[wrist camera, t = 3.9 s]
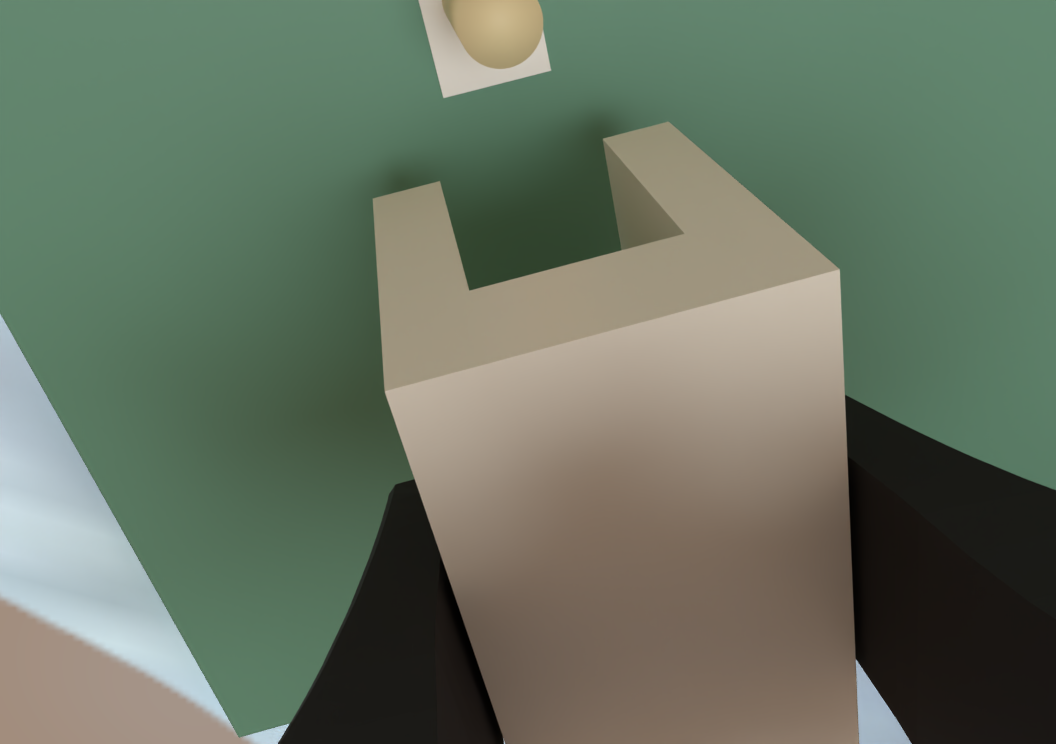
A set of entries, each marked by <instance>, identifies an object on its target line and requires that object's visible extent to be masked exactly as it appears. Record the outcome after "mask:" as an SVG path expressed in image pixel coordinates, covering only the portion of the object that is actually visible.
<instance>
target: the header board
mask: <svg viewBox="0 0 1056 744" xmlns="http://www.w3.org/2000/svg"><path fill="white" fill-rule="evenodd" d="M665 122H670V123H671V124H672V125H673V126H674V127H675V128H677V129H678V130H679V131H680V132H681V133H682V134H683V135H685V136H686V137H687V138H688V139H689V140H690V141H692V142H693V143H694V144H695V145H696V146H697V147H699V148H700V149H701V150H702V151H703V152H704V153H706V154H707V155H708V156H709V157H710V158H711V159H712V160H714V161H715V162H716V163H717V164H718V165H719V166H721V167H722V168H723V169H724V170H725V171H726V172H728V173H729V174H730V175H731V176H732V177H733V178H734V179H736V180H737V181H738V182H739V183H740V184H741V185H743V186H744V187H745V188H746V189H747V190H748V191H750V192H751V193H752V194H753V195H754V196H755V197H757V198H758V199H759V200H760V201H761V202H762V203H763V204H765V205H766V206H767V207H768V208H769V209H770V210H772V211H773V212H774V213H775V214H776V215H777V216H779V217H780V218H781V219H782V220H783V221H784V222H785V223H787V224H788V225H789V226H790V227H791V228H792V229H794V230H795V231H796V232H797V233H798V234H799V235H801V236H802V237H803V238H804V239H805V240H806V241H808V242H809V243H810V244H811V245H812V246H813V247H814V248H816V249H817V250H818V251H819V252H820V253H821V254H823V255H824V256H825V257H826V258H827V259H828V260H830V261H831V262H832V263H833V264H834V265H835V266H836V267H838V268H839V269H840V288H841V313H842V337H843V362H844V387H845V395H847V396H849V397H851V398H853V399H854V400H856V401H858V402H860V403H862V404H864V405H866V406H868V407H870V408H872V409H874V410H876V411H878V412H880V413H882V414H884V415H886V416H887V417H889V418H891V419H893V420H895V421H897V422H899V423H901V424H903V425H905V426H908V427H910V428H912V429H914V430H916V431H918V432H920V433H922V434H924V435H926V436H928V437H930V438H932V439H935V440H937V441H939V442H941V443H943V444H945V445H947V446H950V447H952V448H954V449H956V450H958V451H961V452H963V453H965V454H967V455H970V456H972V457H974V458H977V459H979V460H981V461H984V462H986V463H989V464H991V465H993V466H996V467H998V468H1001V469H1003V470H1005V471H1008V472H1010V473H1013V474H1015V475H1017V476H1020V477H1022V478H1025V479H1027V480H1030V481H1033V482H1035V483H1038V484H1041V485H1043V486H1046V487H1049V488H1051V489H1054V490H1056V0H0V314H1V315H2V317H3V319H4V321H5V323H6V324H7V326H8V328H9V330H10V331H11V333H12V335H13V337H14V339H15V340H16V342H17V344H18V346H19V347H20V349H21V351H22V353H23V355H24V356H25V358H26V360H27V362H28V363H29V365H30V367H31V369H32V371H33V372H34V374H35V376H36V378H37V379H38V381H39V383H40V385H41V387H42V388H43V390H44V392H45V394H46V395H47V397H48V399H49V401H50V403H51V404H52V406H53V408H54V410H55V411H56V413H57V415H58V417H59V419H60V420H61V422H62V424H63V426H64V427H65V429H66V431H67V433H68V434H69V436H70V438H71V440H72V442H73V443H74V445H75V447H76V449H77V450H78V452H79V454H80V456H81V458H82V459H83V461H84V463H85V465H86V466H87V468H88V470H89V472H90V474H91V475H92V477H93V479H94V481H95V482H96V484H97V486H98V488H99V490H100V491H101V493H102V495H103V497H104V498H105V500H106V502H107V504H108V506H109V507H110V509H111V511H112V513H113V514H114V516H115V518H116V520H117V522H118V523H119V525H120V527H121V529H122V530H123V532H124V534H125V536H126V538H127V539H128V541H129V543H130V545H131V546H132V548H133V550H134V552H135V554H136V555H137V557H138V559H139V561H140V562H141V564H142V566H143V568H144V570H145V571H146V573H147V575H148V577H149V578H150V580H151V582H152V584H153V586H154V587H155V589H156V591H157V593H158V594H159V596H160V598H161V600H162V602H163V603H164V605H165V607H166V609H167V610H168V612H169V614H170V616H171V618H172V619H173V621H174V623H175V625H176V626H177V628H178V630H179V632H180V634H181V635H182V637H183V639H184V641H185V642H186V644H187V646H188V648H189V650H190V651H191V653H192V655H193V657H194V658H195V660H196V662H197V664H198V666H199V667H200V669H201V671H202V673H203V674H204V676H205V678H206V680H207V682H208V683H209V685H210V687H211V689H212V690H213V692H214V694H215V696H216V698H217V699H218V701H219V703H220V705H221V706H222V708H223V710H224V712H225V714H226V715H227V717H228V719H229V721H230V722H231V724H232V726H233V728H234V729H235V731H236V733H237V735H238V737H242V736H246V735H250V734H253V733H257V732H260V731H264V730H267V729H271V728H275V727H278V726H282V725H285V724H289V723H291V721H292V719H293V718H294V716H295V714H296V713H297V711H298V709H299V707H300V706H301V704H302V702H303V700H304V698H305V697H306V695H307V693H308V691H309V689H310V687H311V686H312V684H313V682H314V680H315V678H316V676H317V674H318V672H319V671H320V669H321V667H322V665H323V662H324V660H325V658H326V656H327V654H328V652H329V650H330V648H331V646H332V644H333V641H334V639H335V637H336V635H337V633H338V631H339V629H340V627H341V625H342V623H343V620H344V618H345V616H346V614H347V612H348V609H349V607H350V605H351V602H352V600H353V597H354V595H355V592H356V590H357V587H358V585H359V582H360V580H361V577H362V575H363V572H364V570H365V567H366V565H367V562H368V559H369V556H370V554H371V551H372V548H373V545H374V542H375V539H376V537H377V533H378V530H379V527H380V524H381V521H382V518H383V514H384V511H385V508H386V504H387V500H388V496H389V493H390V492H391V490H392V489H393V487H394V486H395V484H398V483H402V482H406V481H409V480H413V479H414V476H413V473H412V470H411V467H410V464H409V461H408V458H407V455H406V452H405V449H404V446H403V444H402V441H401V438H400V435H399V432H398V429H397V426H396V423H395V420H394V417H393V414H392V411H391V409H390V406H389V403H388V400H387V397H386V394H385V390H384V374H383V358H382V341H381V325H380V309H379V293H378V277H377V261H376V245H375V228H374V212H373V198H377V197H380V196H384V195H388V194H392V193H396V192H400V191H404V190H407V189H411V188H415V187H419V186H423V185H427V184H430V183H434V182H438V181H440V183H441V187H442V191H443V195H444V198H445V202H446V206H447V209H448V213H449V217H450V221H451V224H452V228H453V232H454V235H455V239H456V243H457V247H458V250H459V254H460V258H461V261H462V265H463V269H464V273H465V276H466V280H467V284H468V287H469V291H470V290H474V289H478V288H481V287H485V286H489V285H493V284H497V283H500V282H504V281H508V280H512V279H515V278H519V277H523V276H527V275H530V274H534V273H538V272H542V271H546V270H549V269H553V268H557V267H561V266H564V265H568V264H572V263H576V262H580V261H583V260H587V259H591V258H595V257H598V256H602V255H606V254H610V253H614V252H617V251H621V250H622V249H621V243H620V238H619V232H618V226H617V220H616V214H615V208H614V203H613V197H612V191H611V185H610V179H609V173H608V168H607V162H606V156H605V150H604V144H603V138H607V137H611V136H615V135H619V134H623V133H626V132H630V131H634V130H638V129H642V128H646V127H650V126H653V125H657V124H661V123H665Z"/></svg>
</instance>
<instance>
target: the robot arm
mask: <svg viewBox="0 0 1056 744" xmlns="http://www.w3.org/2000/svg"><path fill="white" fill-rule="evenodd" d="M845 411H846V436H847V461H848V485H849V510H850V534H851V559H852V584H853V608H854V633H855V658H856V660H857V661H858V662H859V664H860V665H861V667H862V668H863V670H864V671H865V673H866V674H867V676H868V677H869V679H870V680H871V682H872V683H873V685H874V686H875V688H876V689H877V691H878V692H879V694H880V695H881V697H882V698H883V699H884V701H885V702H886V704H887V705H888V707H889V708H890V710H891V711H892V713H893V714H894V716H895V717H896V719H897V720H898V722H899V724H900V725H901V727H902V728H903V730H904V732H905V733H906V735H907V737H908V738H909V740H910V741H911V743H912V744H1056V490H1054V489H1051V488H1049V487H1046V486H1043V485H1041V484H1038V483H1035V482H1033V481H1030V480H1027V479H1025V478H1022V477H1020V476H1017V475H1015V474H1013V473H1010V472H1008V471H1005V470H1003V469H1001V468H998V467H996V466H993V465H991V464H989V463H986V462H984V461H981V460H979V459H977V458H974V457H972V456H970V455H967V454H965V453H963V452H961V451H958V450H956V449H954V448H952V447H950V446H947V445H945V444H943V443H941V442H939V441H937V440H935V439H932V438H930V437H928V436H926V435H924V434H922V433H920V432H918V431H916V430H914V429H912V428H910V427H908V426H905V425H903V424H901V423H899V422H897V421H895V420H893V419H891V418H889V417H887V416H886V415H884V414H882V413H880V412H878V411H876V410H874V409H872V408H870V407H868V406H866V405H864V404H862V403H860V402H858V401H856V400H854V399H853V398H851V397H849V396H847V395H845ZM278 744H504V741H503V735H502V732H501V729H500V726H499V724H498V721H497V718H496V715H495V712H494V709H493V706H492V703H491V700H490V697H489V694H488V691H487V689H486V686H485V683H484V680H483V677H482V674H481V671H480V668H479V665H478V662H477V659H476V656H475V654H474V651H473V648H472V645H471V642H470V639H469V636H468V633H467V630H466V627H465V624H464V621H463V619H462V616H461V613H460V610H459V607H458V604H457V601H456V598H455V595H454V592H453V589H452V586H451V584H450V581H449V578H448V575H447V572H446V569H445V566H444V563H443V560H442V557H441V554H440V551H439V549H438V546H437V543H436V540H435V537H434V534H433V531H432V528H431V525H430V522H429V519H428V516H427V514H426V511H425V508H424V505H423V502H422V499H421V496H420V493H419V490H418V487H417V484H416V481H415V479H413V480H409V481H406V482H402V483H398V484H395V486H394V487H393V489H392V490H391V492H390V493H389V496H388V500H387V504H386V508H385V511H384V514H383V518H382V521H381V524H380V527H379V530H378V533H377V537H376V539H375V542H374V545H373V548H372V551H371V554H370V556H369V559H368V562H367V565H366V567H365V570H364V572H363V575H362V577H361V580H360V582H359V585H358V587H357V590H356V592H355V595H354V597H353V600H352V602H351V605H350V607H349V609H348V612H347V614H346V616H345V618H344V620H343V623H342V625H341V627H340V629H339V631H338V633H337V635H336V637H335V639H334V641H333V644H332V646H331V648H330V650H329V652H328V654H327V656H326V658H325V660H324V662H323V665H322V667H321V669H320V671H319V672H318V674H317V676H316V678H315V680H314V682H313V684H312V686H311V687H310V689H309V691H308V693H307V695H306V697H305V698H304V700H303V702H302V704H301V706H300V707H299V709H298V711H297V713H296V714H295V716H294V718H293V719H292V721H291V723H290V724H289V726H288V728H287V729H286V731H285V733H284V734H283V736H282V738H281V739H280V741H279V743H278Z"/></svg>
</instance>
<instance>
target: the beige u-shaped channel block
mask: <svg viewBox="0 0 1056 744" xmlns="http://www.w3.org/2000/svg"><path fill="white" fill-rule="evenodd" d="M603 144H604V150H605V156H606V162H607V168H608V173H609V179H610V185H611V191H612V197H613V203H614V208H615V214H616V220H617V226H618V232H619V238H620V243H621V249H622V250H621V251H617V252H614V253H610V254H606V255H602V256H598V257H595V258H591V259H587V260H583V261H580V262H576V263H572V264H568V265H564V266H561V267H557V268H553V269H549V270H546V271H542V272H538V273H534V274H530V275H527V276H523V277H519V278H515V279H512V280H508V281H504V282H500V283H497V284H493V285H489V286H485V287H481V288H478V289H474V290H470V291H469V287H468V284H467V280H466V276H465V273H464V269H463V265H462V261H461V258H460V254H459V250H458V247H457V243H456V239H455V235H454V232H453V228H452V224H451V221H450V217H449V213H448V209H447V206H446V202H445V198H444V195H443V191H442V187H441V183H440V181H438V182H434V183H430V184H427V185H423V186H419V187H415V188H411V189H407V190H404V191H400V192H396V193H392V194H388V195H384V196H380V197H377V198H373V212H374V228H375V245H376V261H377V277H378V293H379V309H380V325H381V341H382V358H383V374H384V390H385V394H386V397H387V400H388V403H389V406H390V409H391V411H392V414H393V417H394V420H395V423H396V426H397V429H398V432H399V435H400V438H401V441H402V444H403V446H404V449H405V452H406V455H407V458H408V461H409V464H410V467H411V470H412V473H413V476H414V479H415V481H416V484H417V487H418V490H419V493H420V496H421V499H422V502H423V505H424V508H425V511H426V514H427V516H428V519H429V522H430V525H431V528H432V531H433V534H434V537H435V540H436V543H437V546H438V549H439V551H440V554H441V557H442V560H443V563H444V566H445V569H446V572H447V575H448V578H449V581H450V584H451V586H452V589H453V592H454V595H455V598H456V601H457V604H458V607H459V610H460V613H461V616H462V619H463V621H464V624H465V627H466V630H467V633H468V636H469V639H470V642H471V645H472V648H473V651H474V654H475V656H476V659H477V662H478V665H479V668H480V671H481V674H482V677H483V680H484V683H485V686H486V689H487V691H488V694H489V697H490V700H491V703H492V706H493V709H494V712H495V715H496V718H497V721H498V724H499V726H500V729H501V732H502V735H503V738H504V741H505V744H859V732H858V707H857V682H856V658H855V633H854V608H853V584H852V559H851V534H850V510H849V485H848V461H847V436H846V411H845V387H844V362H843V337H842V313H841V288H840V269H839V268H838V267H836V266H835V265H834V264H833V263H832V262H831V261H830V260H828V259H827V258H826V257H825V256H824V255H823V254H821V253H820V252H819V251H818V250H817V249H816V248H814V247H813V246H812V245H811V244H810V243H809V242H808V241H806V240H805V239H804V238H803V237H802V236H801V235H799V234H798V233H797V232H796V231H795V230H794V229H792V228H791V227H790V226H789V225H788V224H787V223H785V222H784V221H783V220H782V219H781V218H780V217H779V216H777V215H776V214H775V213H774V212H773V211H772V210H770V209H769V208H768V207H767V206H766V205H765V204H763V203H762V202H761V201H760V200H759V199H758V198H757V197H755V196H754V195H753V194H752V193H751V192H750V191H748V190H747V189H746V188H745V187H744V186H743V185H741V184H740V183H739V182H738V181H737V180H736V179H734V178H733V177H732V176H731V175H730V174H729V173H728V172H726V171H725V170H724V169H723V168H722V167H721V166H719V165H718V164H717V163H716V162H715V161H714V160H712V159H711V158H710V157H709V156H708V155H707V154H706V153H704V152H703V151H702V150H701V149H700V148H699V147H697V146H696V145H695V144H694V143H693V142H692V141H690V140H689V139H688V138H687V137H686V136H685V135H683V134H682V133H681V132H680V131H679V130H678V129H677V128H675V127H674V126H673V125H672V124H671V123H670V122H665V123H661V124H657V125H653V126H650V127H646V128H642V129H638V130H634V131H630V132H626V133H623V134H619V135H615V136H611V137H607V138H603Z"/></svg>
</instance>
